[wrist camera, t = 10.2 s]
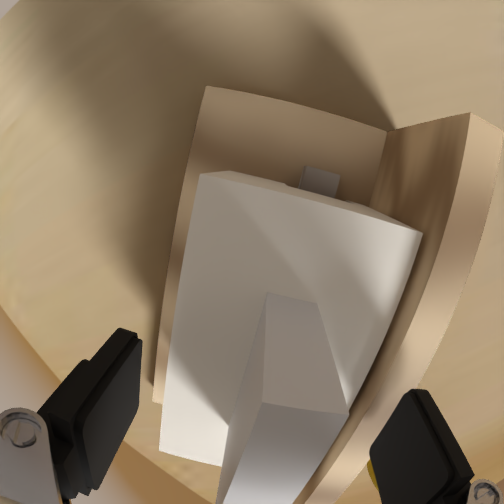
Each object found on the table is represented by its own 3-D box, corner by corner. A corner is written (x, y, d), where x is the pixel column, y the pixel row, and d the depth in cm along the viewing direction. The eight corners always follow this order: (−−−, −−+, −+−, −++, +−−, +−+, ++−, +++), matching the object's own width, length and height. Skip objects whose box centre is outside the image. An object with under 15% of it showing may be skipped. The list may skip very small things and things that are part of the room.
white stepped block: (229, 170, 16) (124, 184, 4) (364, 204, 16) (525, 290, 4) (190, 368, 19) (127, 536, 7) (299, 392, 19) (312, 566, 7)
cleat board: (210, 90, 16) (154, 26, 7) (403, 142, 16) (504, 131, 7) (157, 391, 21) (113, 485, 12) (304, 423, 21) (313, 525, 13)
